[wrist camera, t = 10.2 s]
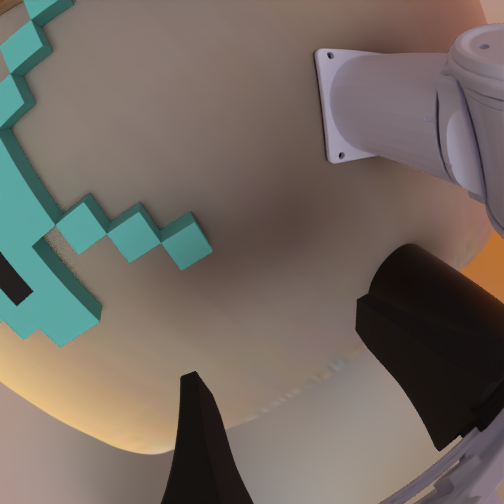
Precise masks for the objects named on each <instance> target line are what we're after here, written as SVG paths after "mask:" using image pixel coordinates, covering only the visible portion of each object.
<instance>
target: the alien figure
mask: <svg viewBox="0 0 504 504" xmlns="http://www.w3.org/2000/svg"><path fill="white" fill-rule="evenodd" d="M23 1H24V3H25V6H26V9H27V11H28V13H29V16H30V18H31V20H30V21H29V22H28V23H26V24H25V25H24V26H23V27H21V28H20V29H19V30H18V31H17V32H16V33H14V34H13V35H12V36H11V37H10V38H9V39H8V40H7V41H5V42H4V43H3V44H2V45H1V46H0V49H1V52H2V54H3V57H4V59H5V62H6V64H7V67H8V69H9V71H10V74H9V75H8V76H7V77H6V78H5V79H4V80H3V81H2V82H1V83H0V322H1V321H2V320H3V321H4V322H5V323H6V324H7V325H8V326H9V327H10V328H11V329H12V330H13V331H14V332H15V333H16V334H17V335H19V336H20V337H21V338H22V339H23V340H24V339H25V338H27V337H28V336H29V335H31V334H32V333H33V332H34V331H36V330H37V329H38V328H39V329H40V330H41V331H42V332H43V333H44V334H45V335H46V336H48V337H49V338H50V339H51V340H52V341H53V342H54V343H55V344H57V345H58V346H59V347H62V346H63V345H65V344H67V343H68V342H70V341H71V340H73V339H74V338H76V337H77V336H79V335H80V334H82V333H83V332H85V331H87V330H88V329H90V328H91V327H93V326H94V325H96V324H97V323H99V322H100V317H101V310H102V305H101V304H100V303H99V302H98V301H97V300H96V299H95V298H94V297H93V296H92V295H91V294H90V293H89V291H88V290H87V289H86V288H85V287H84V286H83V285H82V284H81V283H80V282H79V281H78V279H77V278H76V277H75V276H74V275H73V274H72V273H71V271H70V270H69V269H68V268H67V267H66V266H65V264H64V263H63V262H62V261H61V260H60V258H59V257H58V256H57V255H56V254H55V252H54V251H53V250H52V249H51V247H50V246H49V245H48V243H47V242H46V241H45V240H44V238H43V237H42V236H44V235H45V234H46V233H47V232H48V231H49V230H50V229H52V228H53V227H54V226H55V225H56V227H57V228H58V229H59V231H60V232H61V233H62V235H63V236H64V237H65V239H66V240H67V241H68V242H69V244H70V245H71V246H72V247H73V249H74V250H75V251H76V252H77V254H78V255H79V254H80V253H82V252H83V251H84V250H86V249H87V248H88V247H90V246H91V245H92V244H94V243H95V242H96V241H98V240H99V239H101V238H102V237H103V236H105V235H106V234H107V235H108V236H109V237H110V239H111V240H112V241H113V243H114V244H115V245H116V247H117V248H118V249H119V250H120V252H121V253H122V254H123V255H124V257H125V258H126V259H127V260H128V262H129V263H131V262H132V261H134V260H135V259H137V258H139V257H140V256H142V255H143V254H145V253H146V252H148V251H149V250H151V249H152V248H154V247H156V246H157V245H159V244H160V243H161V244H162V245H163V246H164V248H165V249H166V251H167V252H168V253H169V255H170V256H171V257H172V259H173V260H174V261H175V263H176V264H177V265H178V267H179V268H180V269H181V271H182V270H184V269H185V268H187V267H189V266H190V265H192V264H194V263H195V262H197V261H199V260H200V259H202V258H203V257H205V256H207V255H208V254H210V253H212V252H213V250H212V248H211V246H210V244H209V241H208V239H207V238H206V236H205V234H204V233H203V231H202V230H201V228H200V226H199V225H198V223H197V222H196V220H195V218H194V217H193V215H192V214H191V212H189V213H187V214H186V215H184V216H182V217H181V218H179V219H177V220H176V221H174V222H173V223H171V224H169V225H168V226H166V227H165V228H163V229H162V230H160V231H159V229H158V228H157V226H156V225H155V223H154V222H153V220H152V219H151V217H150V216H149V215H148V213H147V212H146V210H145V209H144V207H143V206H142V204H141V203H140V202H139V203H138V204H136V205H135V206H133V207H132V208H130V209H129V210H127V211H126V212H124V213H123V214H121V215H120V216H119V217H117V218H116V219H114V220H113V221H111V222H110V221H109V219H108V218H107V217H106V215H105V214H104V212H103V211H102V210H101V208H100V207H99V205H98V204H97V203H96V201H95V200H94V198H93V197H92V195H91V194H90V193H89V194H88V195H87V196H85V197H84V198H83V199H81V200H80V201H79V202H78V203H76V204H75V205H74V206H73V207H71V208H70V209H69V210H68V211H67V212H65V213H64V214H63V213H62V212H61V210H60V209H59V207H58V206H57V204H56V203H55V202H54V200H53V199H52V197H51V196H50V194H49V193H48V191H47V190H46V188H45V187H44V185H43V184H42V182H41V181H40V179H39V177H38V176H37V174H36V173H35V171H34V169H33V168H32V166H31V164H30V163H29V161H28V159H27V158H26V156H25V154H24V153H23V151H22V149H21V147H20V145H19V144H18V142H17V140H16V138H15V136H14V135H13V133H12V131H11V129H10V128H11V127H12V126H13V125H14V124H15V123H16V122H17V121H18V120H19V119H20V118H21V117H22V116H23V115H24V114H25V113H26V112H27V111H28V110H29V109H30V108H32V107H33V106H34V105H35V104H36V102H35V100H34V98H33V96H32V94H31V92H30V90H29V88H28V86H27V84H26V82H25V79H24V77H23V76H24V75H25V74H26V73H27V72H28V71H29V70H30V69H32V68H33V67H34V66H35V65H36V64H38V63H39V62H40V61H41V60H42V59H44V58H45V57H46V56H48V55H49V54H50V53H51V52H53V51H52V49H51V47H50V45H49V43H48V41H47V38H46V36H45V34H44V32H43V30H42V28H41V27H42V26H43V25H45V24H46V23H47V22H49V21H50V20H52V19H53V18H54V17H56V16H57V15H59V14H60V13H62V12H63V11H65V10H66V9H68V8H69V7H71V6H72V5H74V4H73V2H72V0H23Z"/></svg>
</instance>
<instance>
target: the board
mask: <svg viewBox="0 0 504 504" xmlns="http://www.w3.org/2000/svg"><path fill="white" fill-rule="evenodd" d="M22 1H23V0H0V15H1V14H3V13H4V12H6V11H7V10H9V9H11V8H12V7H14V6H15V5H17V4H19V3H21V2H22Z"/></svg>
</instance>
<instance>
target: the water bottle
mask: <svg viewBox="0 0 504 504" xmlns="http://www.w3.org/2000/svg"><path fill="white" fill-rule="evenodd" d="M369 294H370V295H372V296H374V297H376V298H378V299H380V300H382V301H384V302H386V303H388V304H391V305H393V306H395V307H397V308H399V309H401V310H403V311H405V312H407V313H409V314H412V315H414V316H416V317H418V318H421V319H423V320H426V321H428V322H431V323H433V324H436V325H439V326H442V327H445V328H449V329H452V330H455V331H459V332H463V333H468V334H473V335H479V336H486V337H495V338H504V304H503V303H502V302H501V301H500V300H498V299H497V298H495V297H494V296H493V295H491V294H490V293H488V292H487V291H486V290H484V289H483V288H482V287H480V286H479V285H477V284H476V283H474V282H473V281H472V280H470V279H469V278H467V277H466V276H464V275H463V274H461V273H460V272H458V271H457V270H455V269H454V268H452V267H451V266H449V265H448V264H446V263H445V262H443V261H442V260H440V259H438V258H437V257H435V256H434V255H432V254H430V253H429V252H427V251H426V250H424V249H422V248H421V247H419V246H417V245H415V244H407V245H404V246H402V247H400V248H398V249H397V250H395V251H394V252H393V253H392V254H391V255H390V256H389V257H388V258H387V259H386V260H385V261H384V262H383V264H382V265H381V266H380V268H379V269H378V271H377V273H376V274H375V276H374V278H373V281H372V283H371V286H370V290H369Z"/></svg>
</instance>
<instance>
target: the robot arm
mask: <svg viewBox="0 0 504 504" xmlns="http://www.w3.org/2000/svg"><path fill="white" fill-rule="evenodd" d="M327 53H329V54H330V56H331V57H330V59H329V58H328V56H327ZM315 61H316V67H317V74H318V81H319V88H320V95H321V103H322V112H323V121H324V130H325V140H326V152H327V159H328V161H329V162H331V163H333V164H337V163H342V162H347V161H352V160H357V159H362V158H368V157H373V156H381V157H384V158H387V159H390V160H393V161H396V162H399V163H402V164H404V165H407V166H410V167H413V168H416V169H418V170H421V171H424V172H426V173H429V174H431V175H434V176H436V177H439V178H441V179H444V180H446V181H448V182H451V183H453V184H456V185H458V186H460V187H462V188H464V189H466V190H467V191H468V194H469V197H471V198H473V199H475V200H477V201H479V202H481V203H483V204H485V206H486V211H487V215H488V218H489V220H490V222H491V224H492V226H493V227H494V228H495V230H496V231H497V232H498V234H499V235H500V236H501V237H502V238H503V239H504V23H494V24H486V25H481V26H477V27H474V28H471V29H469V30H467V31H465V32H463V33H462V34H460V35H459V36H458V37H457V38H456V40H455V42H454V44H453V45H452V46H451V48H450V49H449V51H448V53H394V54H382V53H374V52H366V51H356V50H343V49H324V48H322V49H318V50H316V52H315ZM340 152H341V157H340V158H339V153H340ZM355 330H356V332H357V333H358V335H359V336H360V338H361V339H362V341H363V342H364V343H365V345H366V346H367V348H368V349H369V350H370V351H371V352H372V353H373V354H374V355H375V357H376V358H377V359H378V360H379V361H380V363H381V364H382V365H383V366H384V367H385V368H386V369H387V370H388V372H389V373H390V374H391V375H392V376H393V377H394V378H395V379H396V381H397V382H398V383H399V385H400V386H401V387H402V389H403V390H404V392H405V393H406V395H407V396H408V397H409V399H410V400H411V402H412V404H413V406H414V407H415V409H416V410H417V412H418V414H419V416H420V417H421V419H422V421H423V423H424V424H425V426H426V428H427V431H428V433H429V435H430V437H431V439H432V441H433V444H434V446H435V447H436V449H437V450H438V451H441V450H442V449H443V448H445V447H446V446H447V445H449V443H451V442H452V441H453V440H455V439H456V438H457V437H458V436H459V435H461V437H462V438H463V439H462V440H461V441H460V442H459V443H458V444H457V445H456V446H454V447H453V448H452V449H451V450H450V451H449V452H448V453H447V454H445V455H444V456H443V457H442V458H441V459H440V460H438V462H436V463H435V464H434V465H433V466H431V467H430V468H429V469H428V470H426V471H425V472H424V473H422V474H421V475H420V476H418V477H417V478H416V479H414V480H413V481H412V482H410V483H409V484H407V485H406V486H405V487H403V488H402V489H400V490H399V491H398V492H396V493H394V494H393V495H391V496H390V497H388V498H387V499H385V500H383V501H382V502H380V503H378V504H404V503H405V502H406V501H408V500H409V499H411V498H412V497H414V496H415V495H416V494H418V493H419V492H420V491H421V490H423V489H424V488H426V487H427V486H428V485H430V484H431V483H432V482H433V481H434V480H436V479H437V478H438V477H439V476H440V475H442V474H443V473H444V472H445V471H446V470H448V468H450V467H451V466H452V465H453V464H454V463H455V462H456V461H458V460H459V463H458V464H456V465H455V466H454V467H452V468H451V469H449V470H448V471H447V472H446V473H445V474H443V475H442V476H441V478H439V479H438V480H437V481H436V482H435V483H434V485H433V486H434V487H435V489H434V490H432V491H431V492H430V493H428V494H427V495H426V496H424V497H423V498H421V499H420V500H418V501H417V502H415V503H414V504H504V502H503V500H502V499H501V498H500V496H499V495H498V493H497V492H496V491H495V490H496V488H497V487H498V486H499V484H500V483H501V482H502V480H503V479H504V338H495V337H486V336H479V335H473V334H468V333H463V332H459V331H455V330H452V329H449V328H445V327H442V326H439V325H436V324H433V323H431V322H428V321H426V320H423V319H421V318H418V317H416V316H414V315H412V314H409V313H407V312H405V311H403V310H401V309H399V308H397V307H395V306H393V305H391V304H388V303H386V302H384V301H382V300H380V299H378V298H376V297H374V296H372V295H370V294H366V295H364V296H362V297H361V298H359V299H357V310H356V329H355ZM161 504H253V501H252V499H251V497H250V495H249V493H248V491H247V490H246V487H245V485H244V483H243V481H242V479H241V477H240V474H239V472H238V470H237V467H236V465H235V462H234V459H233V456H232V453H231V450H230V446H229V442H228V439H227V436H226V432H225V429H224V425H223V421H222V418H221V415H220V412H219V410H218V407H217V405H216V402H215V399H214V397H213V395H212V393H211V392H210V390H209V389H208V388H207V386H206V385H205V383H204V382H203V381H202V379H201V378H200V376H199V375H198V373H197V372H196V371H194V372H191V373H189V374H186V375H183V376H181V378H180V407H179V419H178V430H177V437H176V444H175V451H174V456H173V462H172V467H171V471H170V475H169V479H168V482H167V486H166V490H165V493H164V496H163V499H162V502H161Z"/></svg>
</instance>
